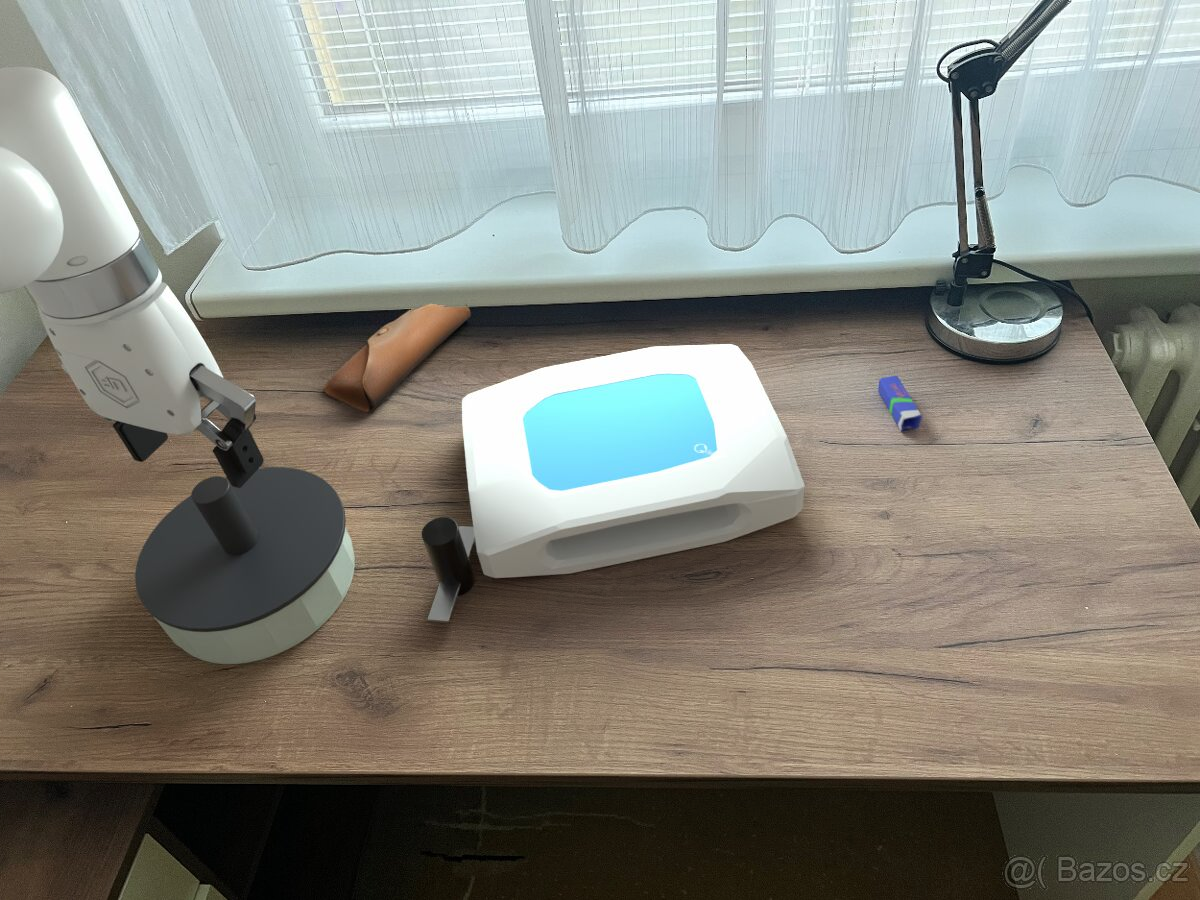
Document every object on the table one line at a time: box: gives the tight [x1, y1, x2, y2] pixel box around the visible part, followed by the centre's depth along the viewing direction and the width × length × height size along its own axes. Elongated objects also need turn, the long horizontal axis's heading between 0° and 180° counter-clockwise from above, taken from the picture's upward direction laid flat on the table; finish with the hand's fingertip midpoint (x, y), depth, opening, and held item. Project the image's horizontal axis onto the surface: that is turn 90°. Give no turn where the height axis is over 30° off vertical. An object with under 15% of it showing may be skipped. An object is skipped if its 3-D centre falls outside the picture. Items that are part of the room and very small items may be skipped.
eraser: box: [877, 375, 923, 432], centre depth 85 cm, size 2×6×2 cm, turn 7°
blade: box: [421, 516, 476, 624], centre depth 73 cm, size 10×3×7 cm, turn 171°
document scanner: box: [461, 343, 806, 579], centre depth 81 cm, size 21×28×6 cm
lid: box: [134, 466, 347, 632], centre depth 73 cm, size 18×18×8 cm
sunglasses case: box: [322, 302, 472, 414], centre depth 98 cm, size 18×7×7 cm
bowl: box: [152, 526, 356, 665], centre depth 76 cm, size 17×17×5 cm
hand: (199, 462), depth 68 cm, fingers open, 9 cm apart
